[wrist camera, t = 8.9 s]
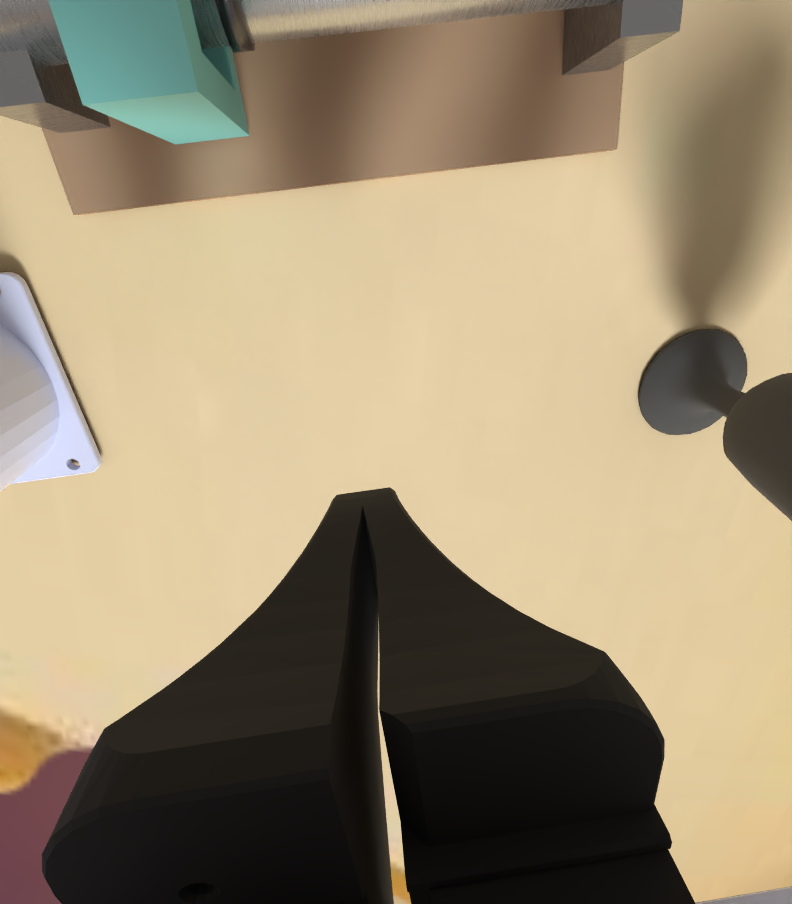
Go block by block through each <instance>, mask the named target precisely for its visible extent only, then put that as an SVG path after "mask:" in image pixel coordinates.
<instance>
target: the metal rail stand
mask: <svg viewBox="0 0 792 904" xmlns="http://www.w3.org/2000/svg"><path fill="white" fill-rule="evenodd" d="M190 2H191V6H192V10H193V15H194V19H195V23H196V28H197V32H198V37H199V41H200V45H201V49H207V48H216V47H225V46H230V47H231V49H232V51H233V52H234V53H240V52H249V51H254V50H255V43H262V42H271V41H280V40H289V39H298V38H308V37H317V36H326V35H335V34H344V33H353V32H362V31H372V30H381V29H390V28H399V27H408V26H417V25H426V24H435V23H445V22H454V21H463V20H472V19H481V18H490V17H499V16H509V15H518V14H527V13H536V12H545V11H554V10H563V9H564V31H563V61H562V76H563V75H571V74H580V73H589V72H597V71H606V70H610V69H612V68H614V67H616V66H617V65H619V64H621V63H623V62H625V61H626V60H628V59H630V58H632V57H634V56H635V55H637V54H639V53H641V52H643V51H644V50H646V49H648V48H650V47H652V46H653V45H655V44H657V43H659V42H661V41H662V40H664V39H666V38H668V37H670V36H671V35H673V34H675V33H677V32H679V31H680V22H681V14H682V5H683V0H190ZM0 115H1V116H4V117H8V118H11V119H14V120H18V121H21V122H25V123H28V124H31V125H35V126H38V127H41V128H45V129H48V130H52V131H55V132H58V133H65V132H74V131H83V130H91V129H100V128H109V127H111V126H110V123H109V119H108V116H107V115H105V114H103V113H101V112H98V111H96V110H94V109H91V108H89V107H87V106H84V105H82V102H81V98H80V95H79V92H78V89H77V86H76V83H75V80H74V77H73V74H72V71H71V68H70V65H69V62H68V59H67V56H66V53H65V50H64V47H63V44H62V41H61V37H60V34H59V31H58V28H57V25H56V22H55V19H54V16H53V13H52V10H51V7H50V4H49V1H48V0H0Z"/></svg>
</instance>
